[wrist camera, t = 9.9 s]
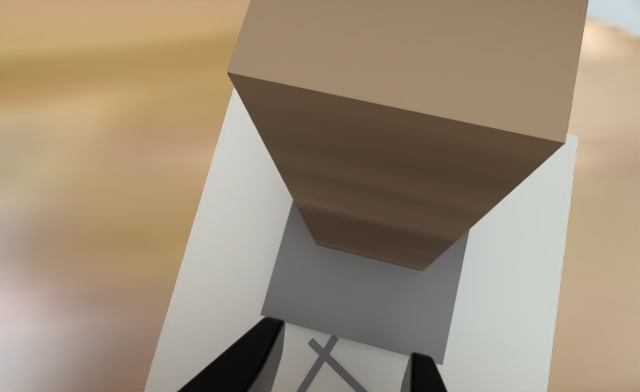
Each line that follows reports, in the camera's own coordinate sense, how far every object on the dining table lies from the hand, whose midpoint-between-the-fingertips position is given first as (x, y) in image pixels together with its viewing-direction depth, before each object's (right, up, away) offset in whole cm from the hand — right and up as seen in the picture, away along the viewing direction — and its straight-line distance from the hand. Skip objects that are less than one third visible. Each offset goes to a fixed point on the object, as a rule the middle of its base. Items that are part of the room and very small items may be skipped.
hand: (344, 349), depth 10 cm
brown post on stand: (+1, +2, +7) cm, 7 cm away
